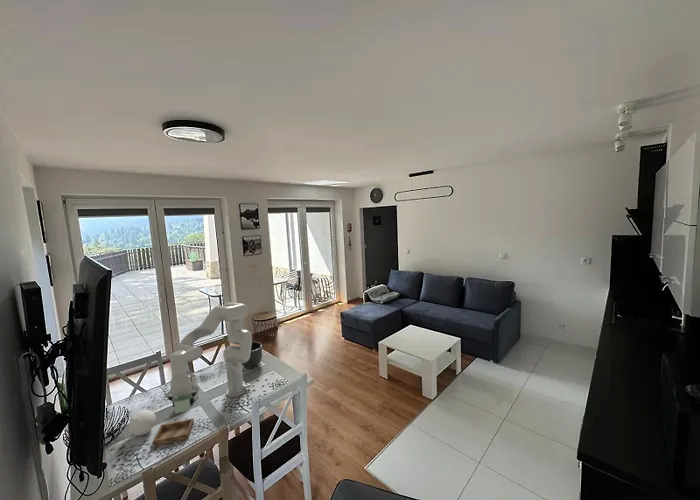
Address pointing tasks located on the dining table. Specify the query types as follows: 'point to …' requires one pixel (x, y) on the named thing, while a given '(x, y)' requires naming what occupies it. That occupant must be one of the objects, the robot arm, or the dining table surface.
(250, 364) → the planter
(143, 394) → the dining table surface
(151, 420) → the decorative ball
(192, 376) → the milk carton
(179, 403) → the sage bin
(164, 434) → the walnut crate
